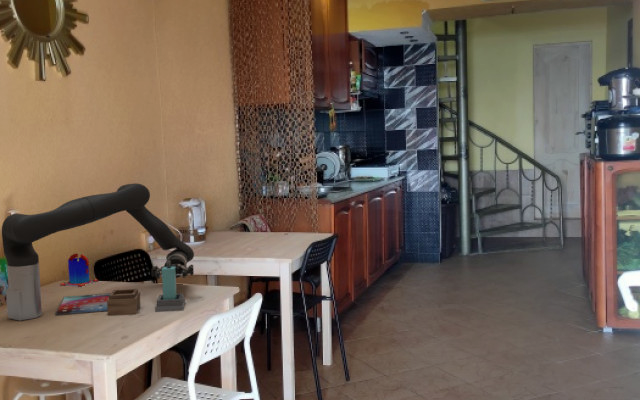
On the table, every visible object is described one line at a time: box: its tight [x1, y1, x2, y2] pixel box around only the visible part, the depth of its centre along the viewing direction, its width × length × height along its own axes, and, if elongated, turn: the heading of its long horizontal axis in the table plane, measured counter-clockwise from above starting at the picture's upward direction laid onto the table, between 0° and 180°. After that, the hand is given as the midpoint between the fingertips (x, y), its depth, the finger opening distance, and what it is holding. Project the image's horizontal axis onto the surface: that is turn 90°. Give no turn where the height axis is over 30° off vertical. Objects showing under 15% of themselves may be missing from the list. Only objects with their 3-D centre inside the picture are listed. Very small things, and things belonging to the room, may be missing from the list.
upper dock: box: [107, 288, 142, 316], centre depth 211 cm, size 9×9×6 cm
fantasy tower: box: [59, 253, 100, 288], centre depth 251 cm, size 12×12×12 cm
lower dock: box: [154, 293, 186, 313], centre depth 215 cm, size 9×9×4 cm
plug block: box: [161, 260, 178, 300], centre depth 214 cm, size 4×4×14 cm
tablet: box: [54, 292, 112, 316], centre depth 221 cm, size 19×25×1 cm
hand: (171, 275), depth 217 cm, fingers open, 8 cm apart
